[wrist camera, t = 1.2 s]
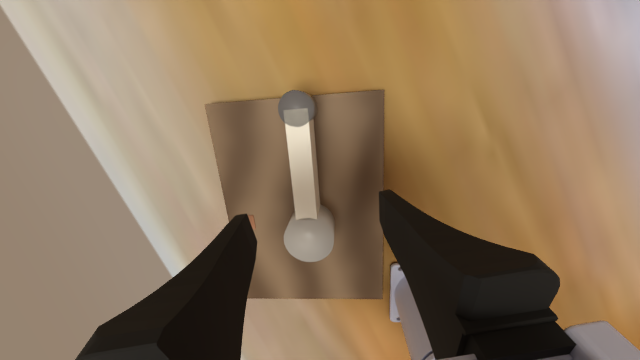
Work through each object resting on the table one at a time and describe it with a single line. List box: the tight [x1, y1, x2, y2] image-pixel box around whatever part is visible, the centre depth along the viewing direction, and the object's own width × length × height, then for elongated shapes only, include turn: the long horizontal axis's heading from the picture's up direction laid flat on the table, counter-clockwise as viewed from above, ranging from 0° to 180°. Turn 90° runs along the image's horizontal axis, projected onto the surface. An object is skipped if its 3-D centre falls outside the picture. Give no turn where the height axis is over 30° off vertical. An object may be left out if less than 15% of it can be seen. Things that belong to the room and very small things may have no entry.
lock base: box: [205, 90, 384, 299], centre depth 24 cm, size 16×22×2 cm
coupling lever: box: [278, 90, 335, 262], centre depth 21 cm, size 14×4×3 cm, turn 4°
